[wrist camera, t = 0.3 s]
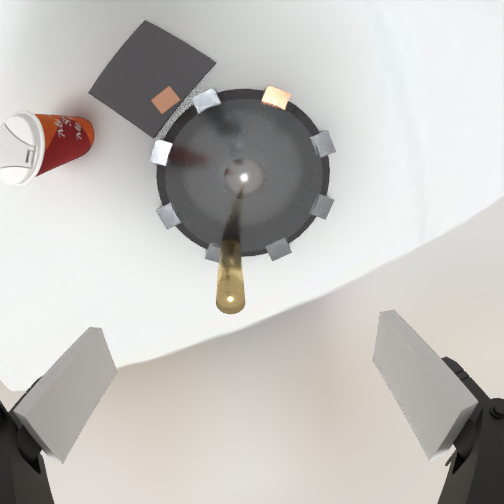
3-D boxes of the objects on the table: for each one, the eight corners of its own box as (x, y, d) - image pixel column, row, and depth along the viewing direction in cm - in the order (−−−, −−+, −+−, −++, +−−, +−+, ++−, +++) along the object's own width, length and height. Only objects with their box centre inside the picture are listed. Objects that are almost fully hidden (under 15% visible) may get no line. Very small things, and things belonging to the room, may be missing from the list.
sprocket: (232, 52, 25) (234, 8, 14) (364, 170, 33) (424, 195, 21) (122, 194, 32) (71, 231, 20) (254, 288, 39) (265, 354, 27)
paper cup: (108, 116, 28) (44, 117, 15) (92, 171, 31) (29, 198, 18) (65, 105, 26) (-3, 107, 14) (51, 157, 29) (-15, 179, 16)
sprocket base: (233, 56, 26) (233, 55, 26) (359, 169, 34) (360, 169, 33) (127, 192, 33) (125, 193, 32) (253, 282, 40) (254, 284, 39)
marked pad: (146, 21, 23) (144, 19, 22) (216, 63, 27) (215, 62, 26) (90, 93, 26) (87, 92, 25) (154, 137, 30) (152, 138, 29)
